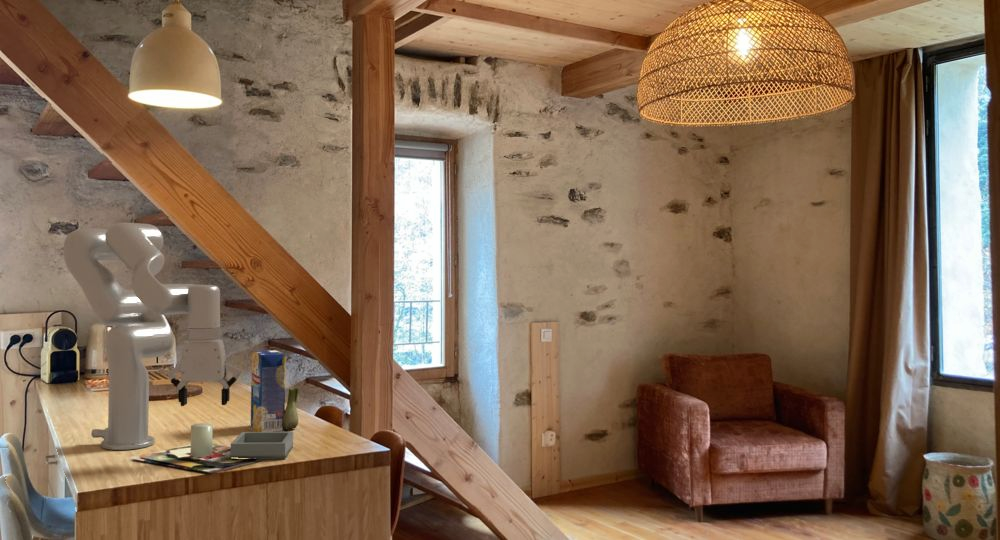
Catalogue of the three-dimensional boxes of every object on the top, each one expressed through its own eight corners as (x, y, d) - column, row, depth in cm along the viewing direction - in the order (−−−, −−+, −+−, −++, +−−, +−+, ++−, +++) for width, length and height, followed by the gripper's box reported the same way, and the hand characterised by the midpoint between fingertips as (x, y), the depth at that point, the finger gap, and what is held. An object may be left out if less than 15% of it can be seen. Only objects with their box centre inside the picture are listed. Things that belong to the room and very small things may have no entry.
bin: (230, 460, 191) (230, 443, 191) (241, 447, 204) (242, 432, 204) (285, 459, 192) (285, 443, 192) (292, 447, 205) (293, 431, 205)
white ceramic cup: (187, 460, 190) (188, 427, 190) (193, 455, 195) (194, 423, 194) (209, 460, 190) (209, 427, 190) (214, 455, 195) (214, 423, 195)
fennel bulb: (290, 426, 230) (295, 385, 230) (302, 429, 227) (307, 388, 228) (275, 427, 225) (280, 386, 225) (287, 430, 222) (293, 388, 223)
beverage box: (273, 423, 234) (275, 350, 234) (284, 430, 224) (285, 354, 224) (250, 425, 230) (251, 351, 230) (260, 433, 221) (261, 355, 221)
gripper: (162, 336, 187) (162, 408, 187) (236, 335, 189) (237, 406, 189) (171, 334, 195) (172, 403, 195) (243, 333, 197) (243, 401, 197)
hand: (204, 404), depth 192 cm, fingers open, 9 cm apart
